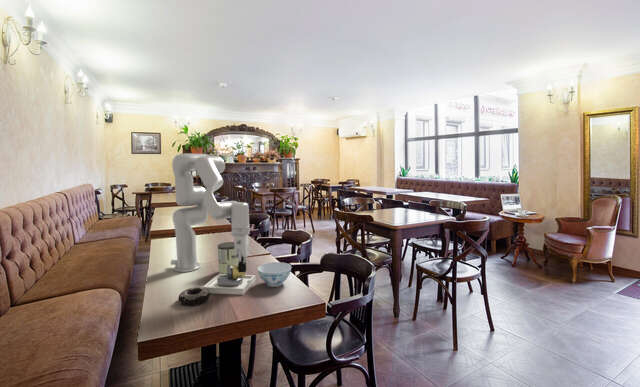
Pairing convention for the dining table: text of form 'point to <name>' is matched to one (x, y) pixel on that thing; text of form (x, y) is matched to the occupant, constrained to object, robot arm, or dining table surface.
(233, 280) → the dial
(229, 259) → the coffee can
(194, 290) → the donut
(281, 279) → the chinaware
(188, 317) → the dining table surface
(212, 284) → the white square tray
